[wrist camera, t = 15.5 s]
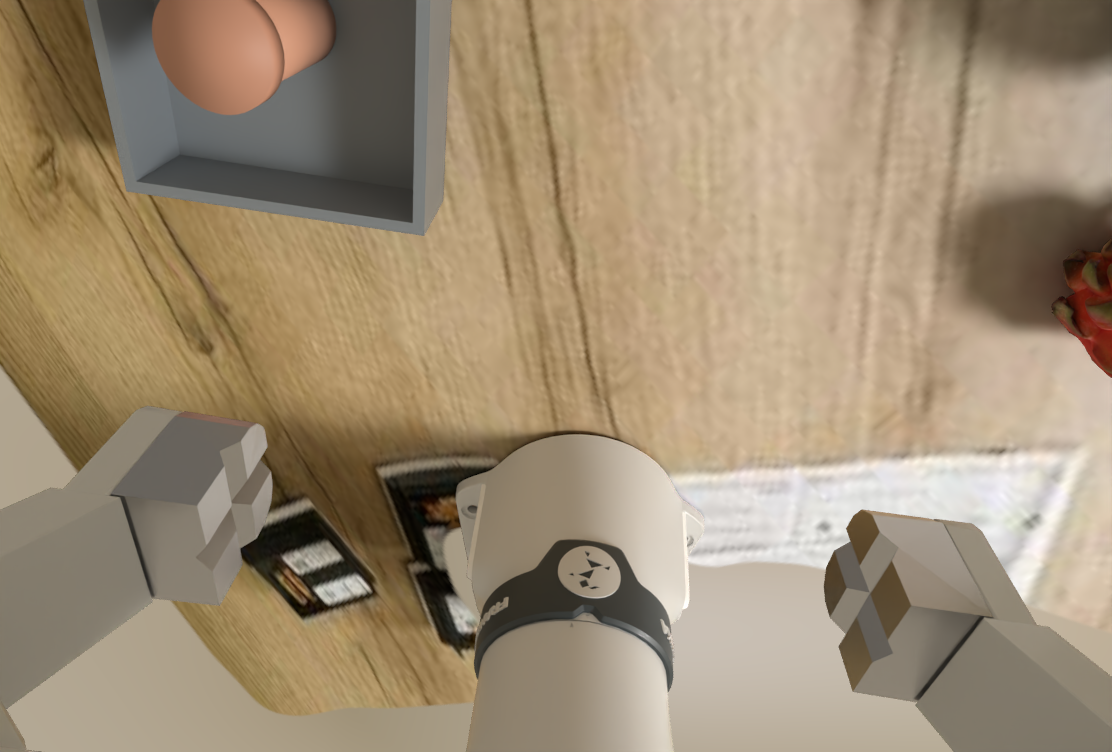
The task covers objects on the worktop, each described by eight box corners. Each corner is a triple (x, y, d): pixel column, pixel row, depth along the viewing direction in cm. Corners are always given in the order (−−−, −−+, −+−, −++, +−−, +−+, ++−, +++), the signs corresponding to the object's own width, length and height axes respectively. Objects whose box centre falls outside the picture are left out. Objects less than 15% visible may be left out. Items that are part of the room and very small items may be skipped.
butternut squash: (346, -22, 33) (270, 1, 26) (342, 83, 36) (273, 127, 29) (246, -47, 33) (144, -31, 26) (250, 60, 36) (159, 99, 29)
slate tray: (443, 200, 40) (424, 236, 36) (176, 160, 40) (126, 191, 36) (456, -124, 31) (433, -126, 27) (115, -179, 31) (40, -190, 27)
